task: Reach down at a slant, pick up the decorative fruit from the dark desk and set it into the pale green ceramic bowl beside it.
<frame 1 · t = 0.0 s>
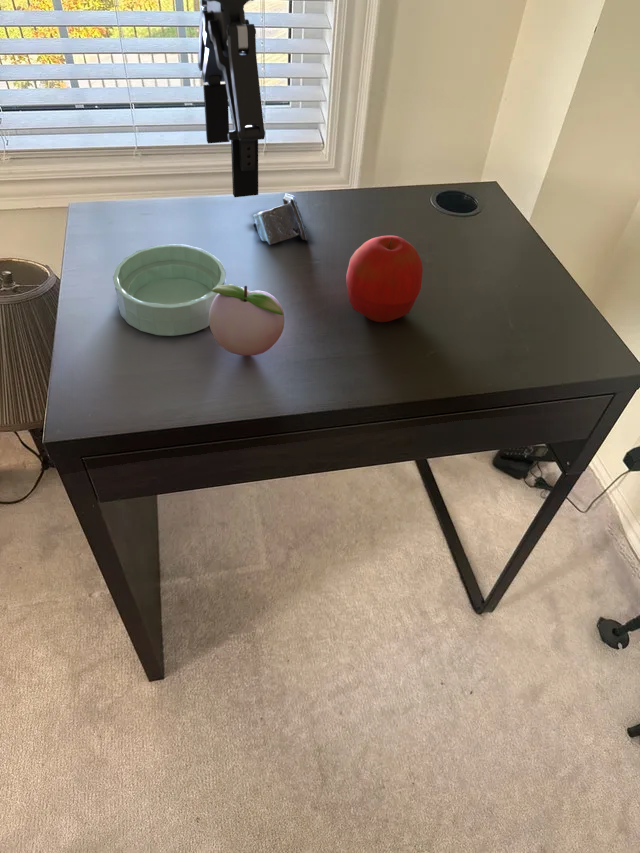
hand: (231, 166, 75), 19 cm above the table, tool pointing down, fingers open, 13 cm apart
decorative fruit: (246, 354, 81), on the table
grey blocky piece: (275, 229, 102), on the table
bowl: (173, 305, 87), on the table
apple: (379, 312, 89), on the table
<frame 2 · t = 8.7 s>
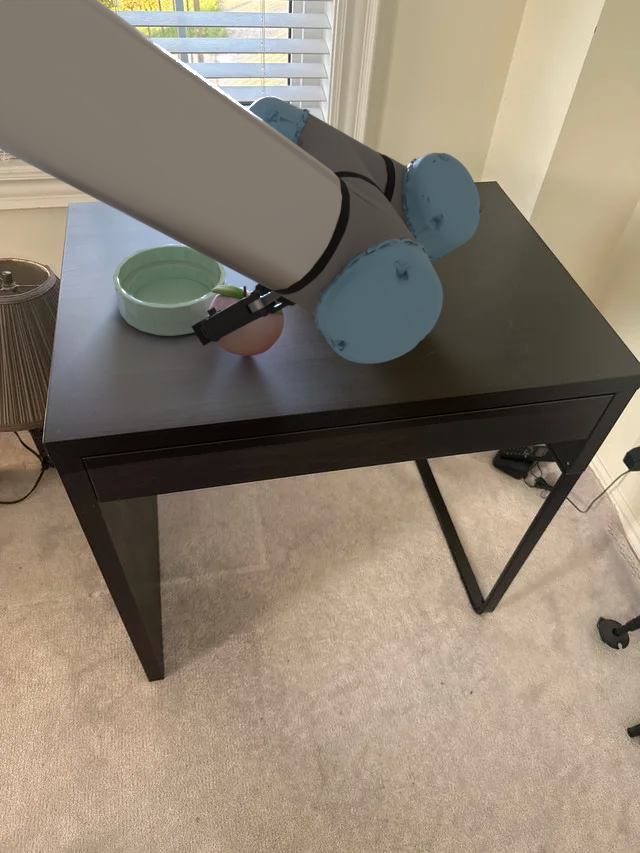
hand: (228, 317, 80), 4 cm above the table, tool tilted 45°, fingers closed on decorative fruit, 9 cm apart
decorative fruit: (246, 354, 81), on the table, touching gripper
everything else where it was.
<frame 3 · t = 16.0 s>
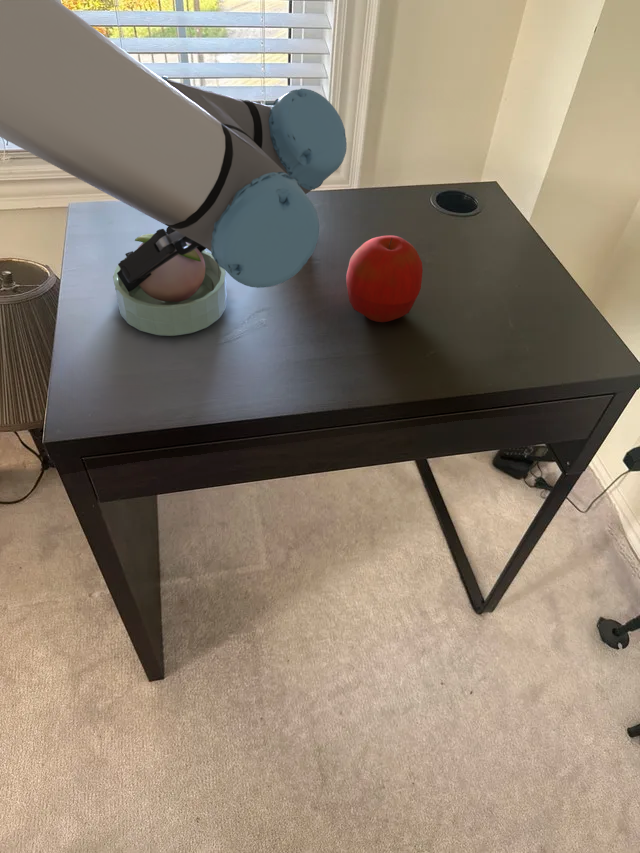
hand: (154, 266, 85), 5 cm above the table, tool tilted 45°, fingers closed on decorative fruit, 9 cm apart
decorative fruit: (172, 303, 87), resting on bowl, touching gripper
everything else where it was.
when the fingers open (6 cm above the table, at t = 24.3 s): decorative fruit stays where it is, resting on bowl.
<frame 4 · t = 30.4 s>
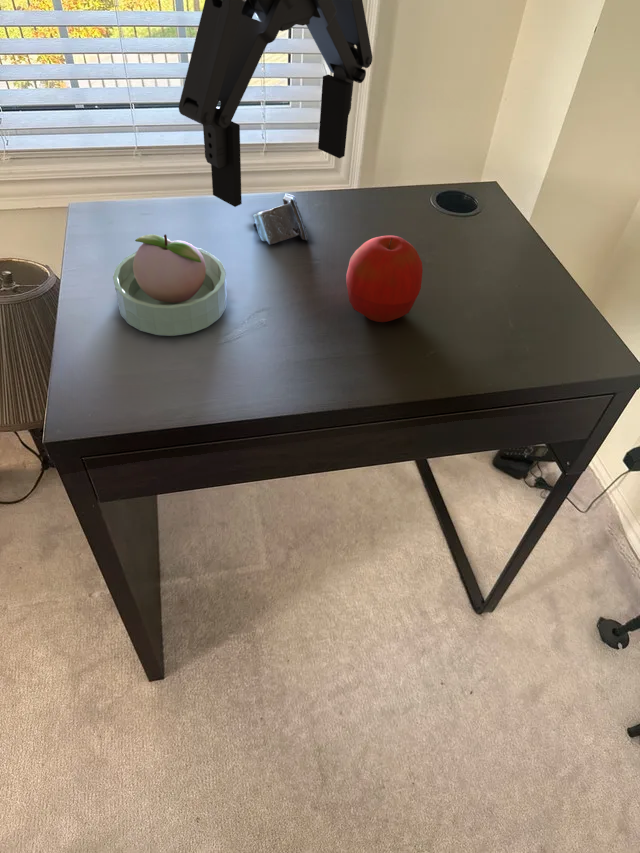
hand: (282, 175, 58), 27 cm above the table, tool pointing down, fingers open, 13 cm apart
decorative fruit: (172, 303, 87), resting on bowl
everything else where it was.
at the end: decorative fruit inside the target area in the bowl (0.1 cm from its centre), point 0.4 cm above the bowl's base; the gripper is holding nothing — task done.
